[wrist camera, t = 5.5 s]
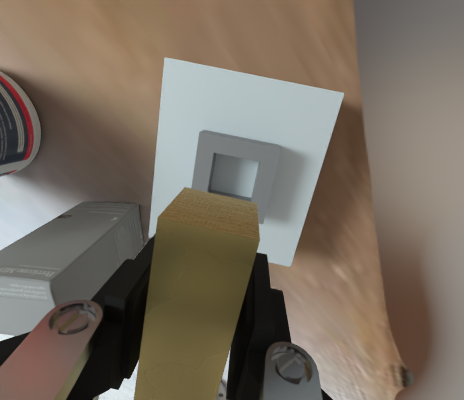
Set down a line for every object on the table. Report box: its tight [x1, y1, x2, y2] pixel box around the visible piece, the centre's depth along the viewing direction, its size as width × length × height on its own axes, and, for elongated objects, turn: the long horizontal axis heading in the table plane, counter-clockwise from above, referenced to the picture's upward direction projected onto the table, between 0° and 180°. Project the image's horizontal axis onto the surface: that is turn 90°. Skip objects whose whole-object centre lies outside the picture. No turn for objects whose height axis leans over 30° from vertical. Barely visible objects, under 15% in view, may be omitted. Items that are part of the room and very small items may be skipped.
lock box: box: [148, 57, 344, 267], centre depth 28 cm, size 18×16×8 cm
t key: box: [134, 187, 260, 400], centre depth 10 cm, size 3×8×7 cm, turn 168°
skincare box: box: [0, 202, 144, 336], centre depth 28 cm, size 8×7×16 cm
